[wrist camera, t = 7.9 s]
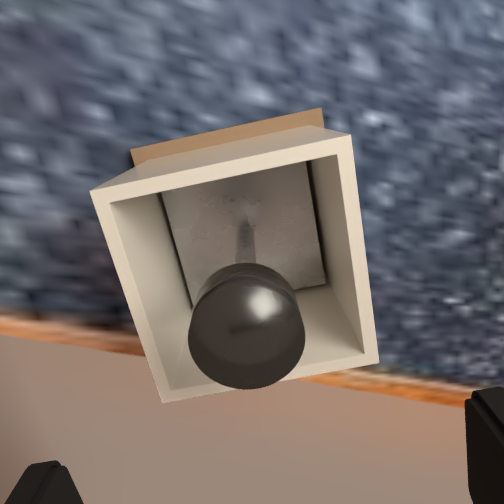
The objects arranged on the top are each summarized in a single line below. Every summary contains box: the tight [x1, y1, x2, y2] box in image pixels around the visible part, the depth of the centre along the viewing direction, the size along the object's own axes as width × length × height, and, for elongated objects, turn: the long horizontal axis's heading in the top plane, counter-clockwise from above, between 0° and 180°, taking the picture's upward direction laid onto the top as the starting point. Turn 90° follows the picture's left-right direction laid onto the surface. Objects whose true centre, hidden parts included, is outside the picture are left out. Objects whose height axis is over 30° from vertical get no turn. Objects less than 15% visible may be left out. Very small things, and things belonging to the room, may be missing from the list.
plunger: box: [161, 161, 325, 389], centre depth 22 cm, size 10×10×15 cm
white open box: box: [90, 107, 379, 404], centre depth 27 cm, size 14×14×13 cm
